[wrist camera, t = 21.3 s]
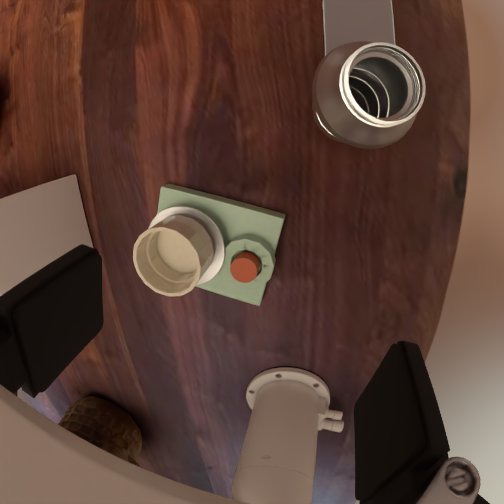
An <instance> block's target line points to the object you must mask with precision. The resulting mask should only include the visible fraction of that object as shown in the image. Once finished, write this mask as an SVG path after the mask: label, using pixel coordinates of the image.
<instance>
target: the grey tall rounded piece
mask: <svg viewBox="0 0 504 504" xmlns="http://www.w3.org/2000/svg"><path fill="white" fill-rule="evenodd" d="M349 87H351V88H354V89H355V90H357V91H358V92H359V93H360V94H361V95H362V96H363V97H364V99H365V101H366V104H367V113H366V112H364V111H363V110H362V109H361V108H360V107H359V106H358V104H357V103H356V102H355V100H354V98H353V96H352V94H351V91H350V88H349ZM312 96H313V102H312V112H313V117H314V120H315V122H316V124H317V126H318V127H319V129H320V130H321V131H322V132H323V133H324V134H325V135H326V136H327V137H329V138H331V139H332V140H335V141H338V142H341V143H346V144H348V145H351V146H353V147H356V148H362V149H379V148H383V147H387V146H389V145H391V144H393V143H395V142H397V141H398V140H399V139H401V138H402V137H403V136H404V135H405V134H406V133H407V131H408V130H409V129H410V128H411V126H412V124H413V122H414V120H415V118H416V115H417V112H418V111H419V109H420V108H421V106H422V104H423V101H424V97H425V80H424V76H423V73H422V71H421V69H420V67H419V65H418V63H417V62H416V61H415V59H414V58H413V57H412V56H411V55H410V54H409V53H408V52H406V51H405V50H403V49H402V48H400V47H398V46H396V45H393V44H389V43H384V42H376V43H373V42H367V41H361V42H350V43H346V44H343V45H341V46H339V47H336V48H335V49H333V50H332V51H331V52H329V53H328V54H327V55H326V56H325V57H324V58H323V59H322V61H321V62H320V64H319V65H318V67H317V69H316V71H315V75H314V78H313V84H312Z"/></svg>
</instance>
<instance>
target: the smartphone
mask: <svg viewBox="0 0 504 504" xmlns="http://www.w3.org/2000/svg"><path fill="white" fill-rule="evenodd" d="M322 7H323V22H324V43H325V56H326V55H327V54H328V53H329V52H331V51H332V50H333V49H335V48H336V47H339V46H341V45H343V44H346V43H350V42H361V41H367V42H373V43H376V42H384V43H389V44H393V45H395V32H394V20H393V9H392V1H391V0H323V4H322ZM349 88H350V91H351V94H352V96H353V98H354V100H355V102H356V103H357V104H358V106H359V107H360V108H361V109H362V110H363V111H364V112H366V113H367V104H366V101H365V99H364V97H363V96H362V95H361V94H360V93H359V92H358V91H357V90H355V89H354V88H351V87H349Z"/></svg>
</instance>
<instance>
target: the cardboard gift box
mask: <svg viewBox="0 0 504 504" xmlns="http://www.w3.org/2000/svg"><path fill="white" fill-rule="evenodd" d="M81 244H84V245H87V246H89V247H92V248H93V244H92V240H91V237H90V233H89V229H88V225H87V221H86V217H85V213H84V209H83V205H82V200H81V196H80V191H79V186H78V182H77V177H76V175H75V174H74V175H70V176H67V177H64V178H60V179H57V180H54V181H51V182H47V183H44V184H41V185H38V186H35V187H32V188H29V189H26V190H23V191H20V192H18V193H15V194H12V195H9V196H7V197H4V198H1V199H0V296H1V295H3V294H4V293H6V292H7V291H9V290H10V289H11V288H13V287H14V286H16V285H17V284H19V283H20V282H22V281H23V280H25V279H26V278H28V277H29V276H31V275H32V274H34V273H35V272H37V271H38V270H40V269H42V268H43V267H45V266H46V265H48V264H49V263H51V262H53V261H54V260H56V259H57V258H59V257H61V256H62V255H64V254H65V253H67V252H69V251H70V250H72V249H74V248H75V247H77V246H79V245H81Z"/></svg>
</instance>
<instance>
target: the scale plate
mask: <svg viewBox="0 0 504 504" xmlns="http://www.w3.org/2000/svg"><path fill="white" fill-rule="evenodd" d="M176 215H181V216H185V217H189V218H192V219H194V220H195V221H196V222H198V223H199V224H200V225H202V226H203V227H204V229H205V230H206V232H207V233H208V235H209V236H210V238H211V241H212V245H213V250H214V253H213V258H212V263H211V265H210V266H209V268H208V269H207V271H206V272H205V273H204V275H203V276H202V277H201V279H200V280H199V281H198V283H197V284H196V285H200V284H204V283H206V282H208V281H210V280H211V279H213V278H214V277H215V276H216V275H217V274H218V272H219V271H220V269H221V267H222V265H223V262H224V259H225V243H224V239H223V236H222V234H221V232H220V230H219V228H218V227H217V225H216V224H215V222H214V221H213V220H212V219H211V218H210V217H209V216H207V215H206V214H205V213H203V212H202V211H200V210H198V209H195V208H192V207H188V206H173V207H170V208H167V209H165V210H163V211H162V212H160V213H159V214H158V215H157V216H156V217H155V218H154V219H153V220H152V222H151V224H150V226H149V228H151V227H152V226H154V225H155V224H157V223H158V222H160V221H161V220H163V219H165V218H166V217H169V216H176Z"/></svg>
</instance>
